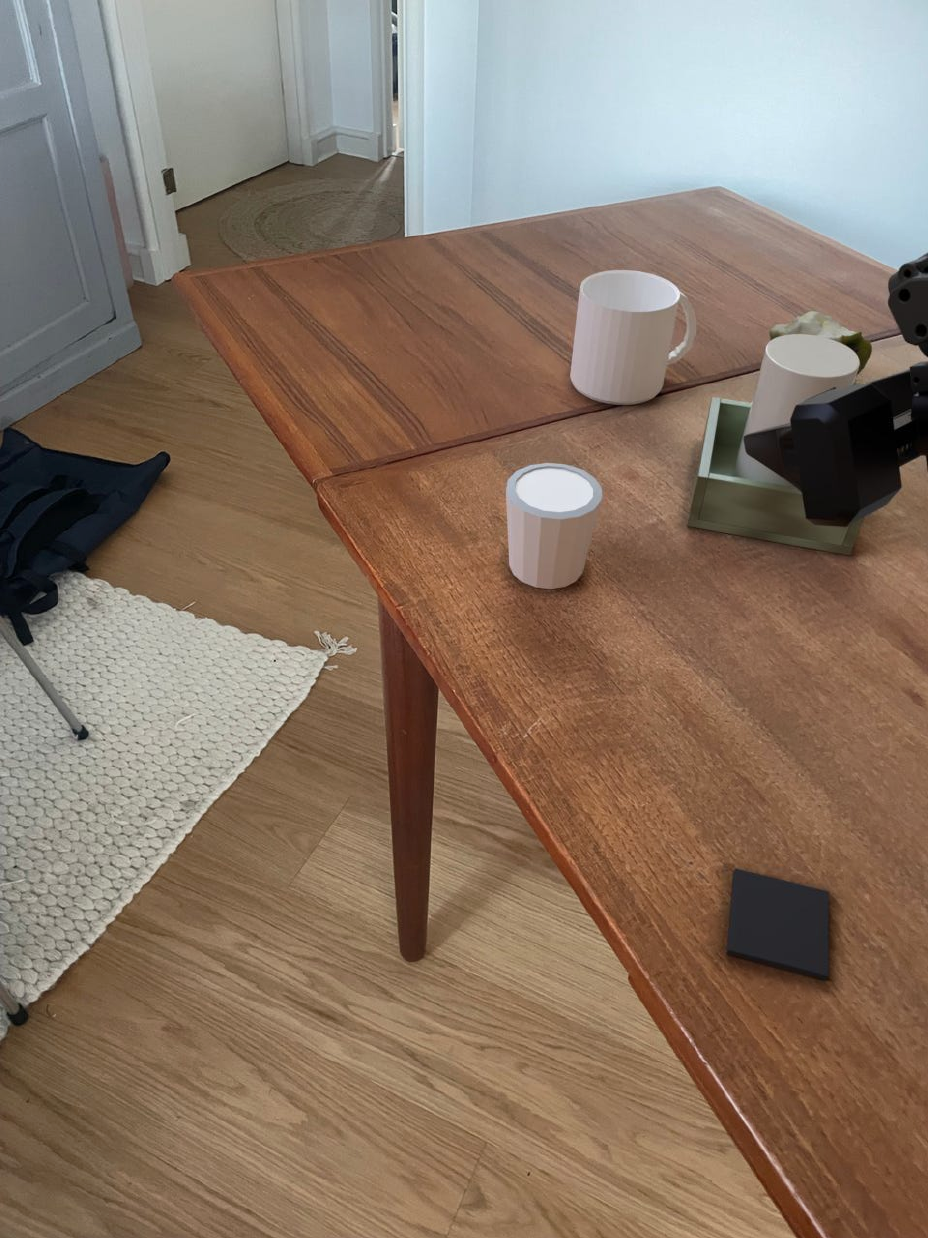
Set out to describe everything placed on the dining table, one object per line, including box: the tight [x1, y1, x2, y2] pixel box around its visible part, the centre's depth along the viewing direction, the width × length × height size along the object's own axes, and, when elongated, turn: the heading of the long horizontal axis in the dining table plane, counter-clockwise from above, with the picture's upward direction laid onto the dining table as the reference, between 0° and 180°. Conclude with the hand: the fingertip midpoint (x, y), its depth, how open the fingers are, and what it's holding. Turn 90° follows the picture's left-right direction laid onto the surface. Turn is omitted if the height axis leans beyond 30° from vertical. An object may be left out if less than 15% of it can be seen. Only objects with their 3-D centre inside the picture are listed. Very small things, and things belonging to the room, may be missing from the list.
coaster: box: [725, 867, 830, 981], centre depth 49 cm, size 5×5×1 cm
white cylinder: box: [732, 334, 860, 487], centre depth 73 cm, size 7×7×12 cm
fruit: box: [769, 310, 873, 377], centre depth 91 cm, size 9×9×8 cm
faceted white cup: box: [505, 462, 603, 590], centre depth 68 cm, size 7×7×7 cm
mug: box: [570, 269, 697, 406], centre depth 88 cm, size 12×9×9 cm
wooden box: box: [686, 396, 866, 556], centre depth 76 cm, size 13×13×5 cm
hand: (797, 420), depth 56 cm, fingers open, 9 cm apart
